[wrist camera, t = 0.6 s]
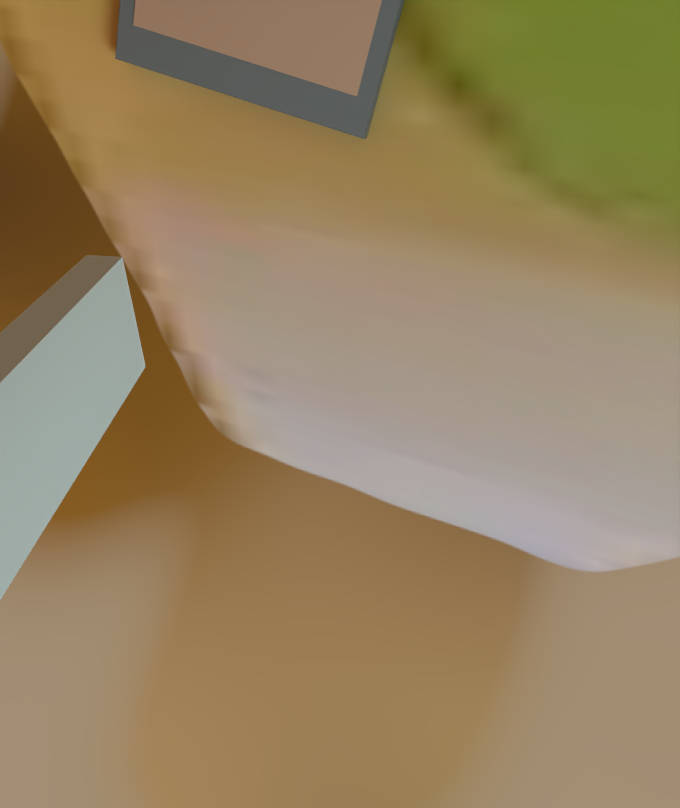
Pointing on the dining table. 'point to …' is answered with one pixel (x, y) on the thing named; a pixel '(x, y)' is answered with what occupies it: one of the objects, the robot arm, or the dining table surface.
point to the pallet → (270, 51)
